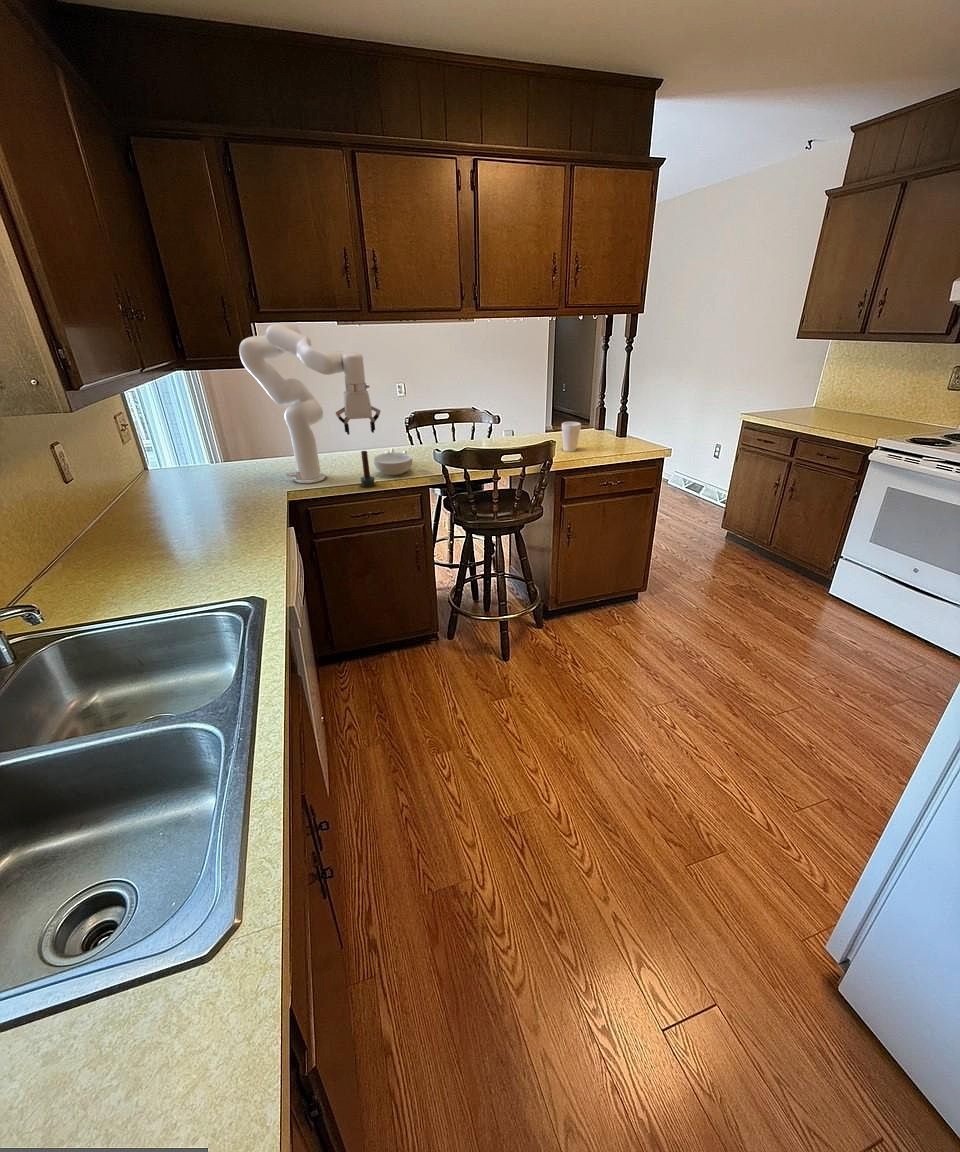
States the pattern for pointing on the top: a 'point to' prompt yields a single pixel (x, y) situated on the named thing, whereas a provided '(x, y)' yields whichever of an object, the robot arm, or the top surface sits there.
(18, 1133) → the top surface
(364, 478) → the brush
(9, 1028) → the top surface
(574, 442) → the foam cup
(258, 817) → the top surface
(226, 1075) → the top surface
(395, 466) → the cereal bowl
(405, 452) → the bracket
